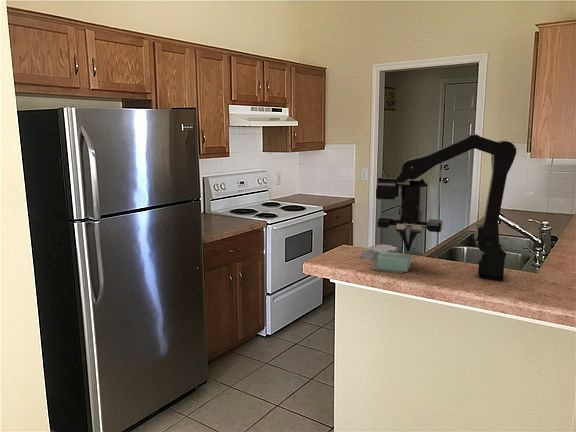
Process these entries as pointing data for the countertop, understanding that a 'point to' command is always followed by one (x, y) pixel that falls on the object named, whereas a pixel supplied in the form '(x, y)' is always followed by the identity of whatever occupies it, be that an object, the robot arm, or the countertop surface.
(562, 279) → the countertop surface
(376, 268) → the mat
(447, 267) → the countertop surface
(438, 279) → the countertop surface
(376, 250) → the stone block
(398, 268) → the slab
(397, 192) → the robot arm
